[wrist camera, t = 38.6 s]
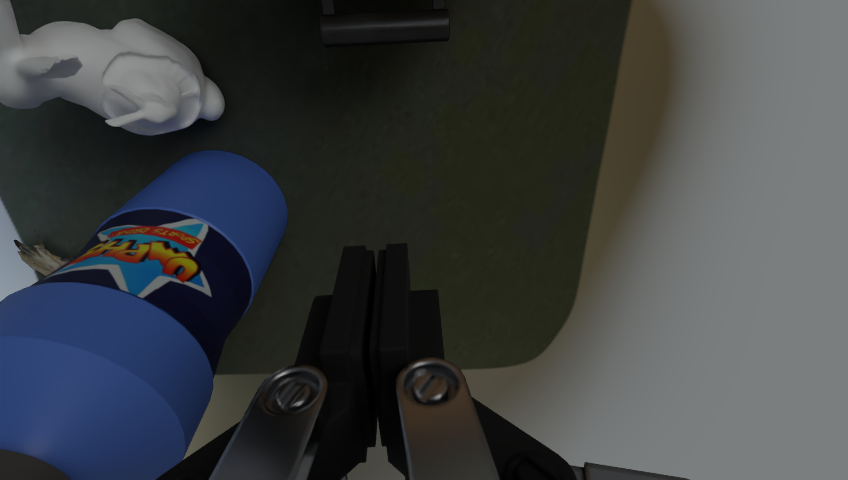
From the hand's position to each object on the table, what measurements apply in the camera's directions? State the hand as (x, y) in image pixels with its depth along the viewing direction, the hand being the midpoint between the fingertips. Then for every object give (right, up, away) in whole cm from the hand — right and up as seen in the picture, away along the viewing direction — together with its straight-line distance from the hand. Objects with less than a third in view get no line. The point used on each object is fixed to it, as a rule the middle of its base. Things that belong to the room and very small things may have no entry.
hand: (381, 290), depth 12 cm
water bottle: (-14, +4, +22) cm, 26 cm away
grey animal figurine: (-17, +13, +16) cm, 27 cm away
